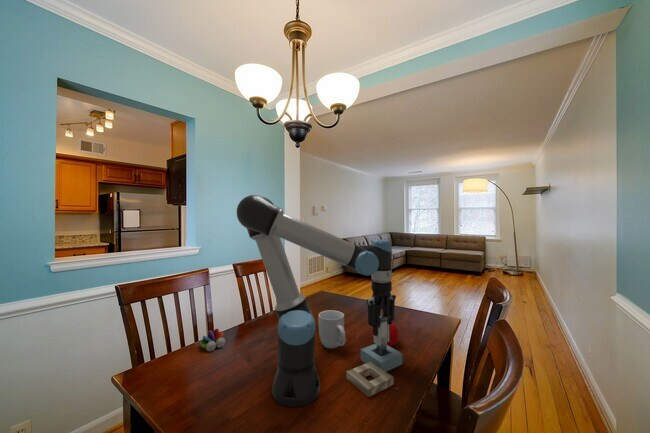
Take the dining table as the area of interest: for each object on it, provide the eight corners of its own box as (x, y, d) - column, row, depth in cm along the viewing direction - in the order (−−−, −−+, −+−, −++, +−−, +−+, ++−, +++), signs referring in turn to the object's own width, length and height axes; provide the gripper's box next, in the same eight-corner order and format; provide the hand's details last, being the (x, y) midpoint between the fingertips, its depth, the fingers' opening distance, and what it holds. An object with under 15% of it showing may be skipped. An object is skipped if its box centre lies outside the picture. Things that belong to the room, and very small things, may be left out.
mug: (355, 350, 109) (355, 319, 109) (333, 358, 103) (333, 325, 103) (334, 336, 122) (334, 308, 121) (313, 343, 116) (313, 313, 115)
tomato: (394, 354, 107) (394, 328, 107) (367, 346, 112) (367, 322, 112) (401, 341, 117) (401, 318, 117) (376, 335, 123) (376, 313, 123)
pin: (381, 357, 98) (381, 319, 98) (373, 352, 102) (373, 315, 101) (390, 353, 100) (390, 316, 100) (381, 348, 104) (381, 313, 104)
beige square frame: (368, 397, 81) (368, 389, 81) (346, 378, 91) (346, 371, 91) (393, 384, 87) (393, 377, 87) (370, 368, 97) (370, 361, 97)
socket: (381, 373, 93) (381, 362, 93) (360, 359, 103) (360, 349, 103) (402, 364, 100) (402, 353, 99) (380, 351, 109) (380, 341, 109)
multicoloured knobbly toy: (228, 346, 113) (228, 329, 113) (205, 355, 106) (205, 336, 106) (219, 339, 118) (219, 323, 118) (196, 347, 111) (196, 330, 111)
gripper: (371, 286, 93) (371, 352, 93) (404, 279, 102) (404, 339, 103) (357, 281, 99) (357, 343, 99) (389, 275, 109) (389, 332, 109)
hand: (381, 341), depth 101 cm, fingers closed on pin, 4 cm apart
